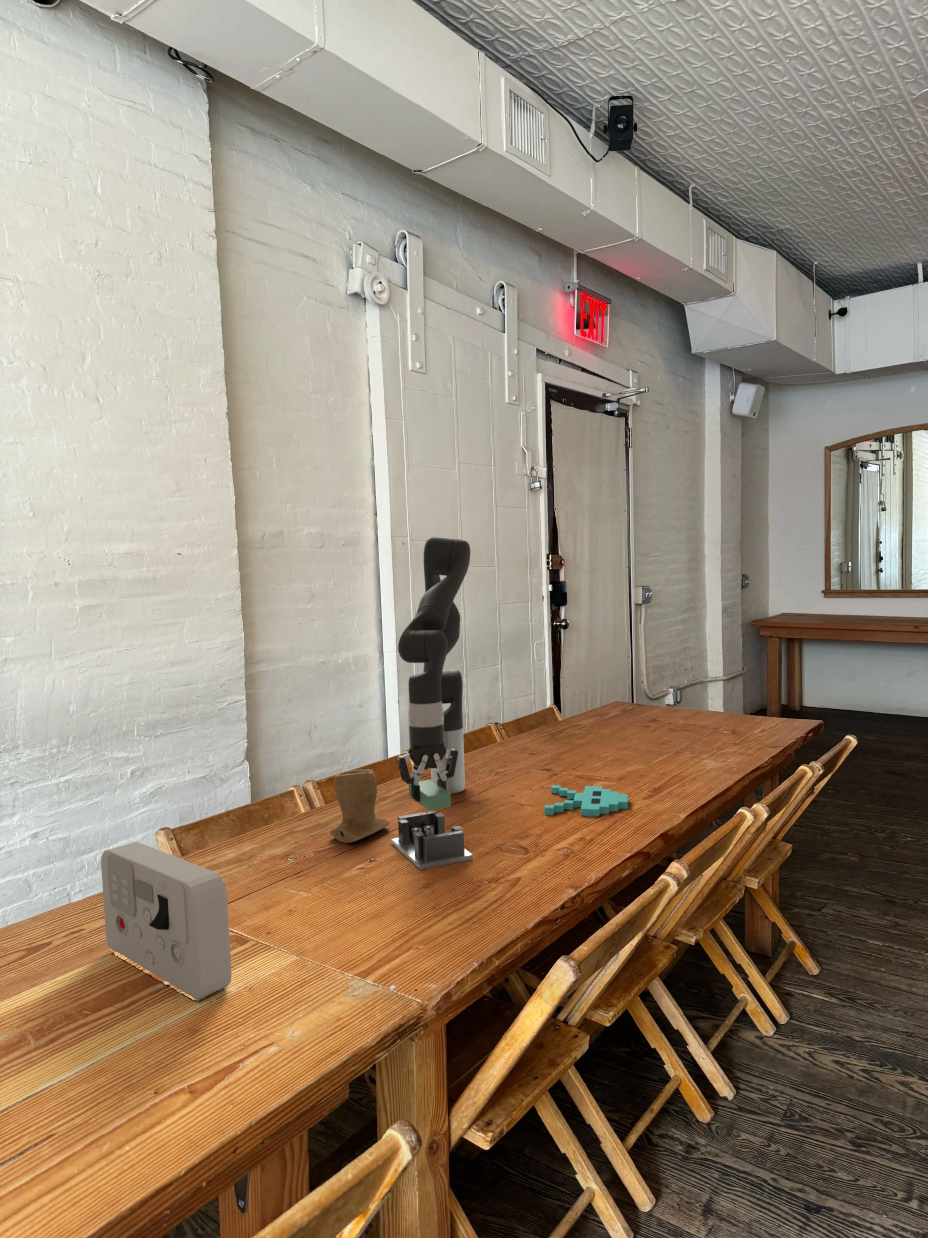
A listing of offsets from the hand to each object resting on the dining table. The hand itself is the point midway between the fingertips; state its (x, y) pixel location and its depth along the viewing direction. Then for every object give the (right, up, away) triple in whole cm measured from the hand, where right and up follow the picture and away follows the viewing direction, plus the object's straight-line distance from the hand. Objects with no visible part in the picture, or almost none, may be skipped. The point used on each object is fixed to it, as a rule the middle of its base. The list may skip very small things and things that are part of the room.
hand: (429, 798), depth 182 cm
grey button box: (-40, -17, -48) cm, 65 cm away
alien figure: (+39, -9, +31) cm, 51 cm away
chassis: (0, -12, +1) cm, 12 cm away
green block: (0, 0, 0) cm, 1 cm away
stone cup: (-17, -11, +14) cm, 25 cm away
